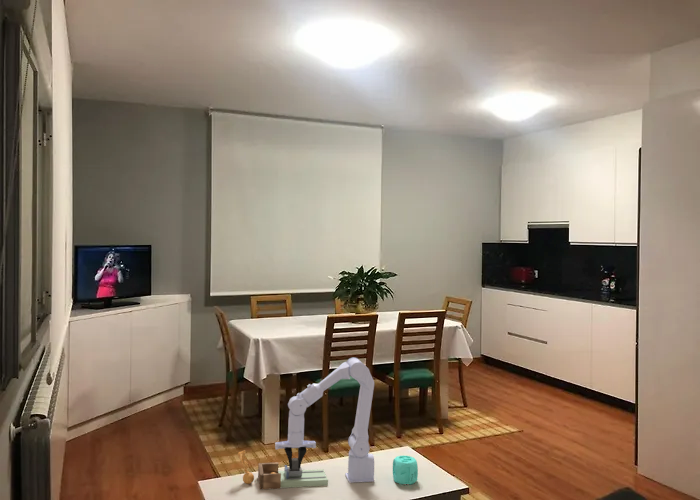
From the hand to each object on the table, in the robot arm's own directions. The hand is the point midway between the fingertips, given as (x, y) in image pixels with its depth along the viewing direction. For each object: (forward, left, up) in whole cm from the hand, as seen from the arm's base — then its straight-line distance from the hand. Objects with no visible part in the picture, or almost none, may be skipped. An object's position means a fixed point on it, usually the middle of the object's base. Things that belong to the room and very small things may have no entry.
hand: (294, 467), depth 213 cm
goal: (+9, 0, -5) cm, 10 cm away
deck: (-3, 0, -5) cm, 6 cm away
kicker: (0, 0, -3) cm, 3 cm away
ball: (+8, 0, -3) cm, 8 cm away
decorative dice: (-41, +4, -5) cm, 41 cm away
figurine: (+17, 0, -5) cm, 18 cm away
